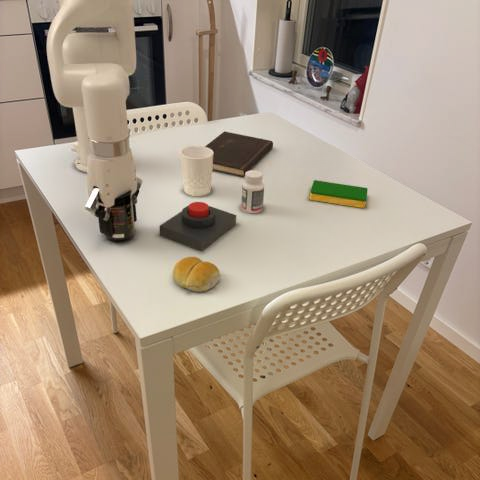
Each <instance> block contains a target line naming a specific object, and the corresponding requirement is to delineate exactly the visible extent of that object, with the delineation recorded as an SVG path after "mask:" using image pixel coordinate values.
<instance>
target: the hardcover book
mask: <svg viewBox="0 0 480 480" xmlns="http://www.w3.org/2000/svg"><path fill="white" fill-rule="evenodd" d="M204 147H207V148H209V149H211V150H212V151H213V169H212V172H218V173H222V174H226V175H231V176H235V177H240V178H244V177H245V173H246V172H247V171H250V170H252V169H253V168H254V167H255V166H256V165H257V164H258V163H259V162H260V161H261V160H262V158H264V157H265V155H267V154H268V153H269V152H270V151H271V150H272V149H273V147H274V142H273V141H272V140H270V139H264V138H259V137H255V136H249V135H245V134H240V133H235V132H231V131H222V132H221V133H220V134H219V135H218V136H216V137H215V138H214V139H212V141H210V142H209V143H207V144H206V145H204Z"/></svg>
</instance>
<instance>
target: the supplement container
mask: <svg viewBox="0 0 480 480" xmlns="http://www.w3.org/2000/svg"><path fill="white" fill-rule="evenodd" d="M101 202H102V201H101ZM102 203H103V202H102ZM114 204H115V205H113V206H111V211H110V216H109V218H110V219H111V220H112V226H113V236H111V237H110V236H107V235H105V234H103V236H104V237H105V239H107V241H109V242H112V243H126V242H128V241H131V240H132V239H133V238H134V237H135V235H136V226H135V222H134V214H133V203H132V190H130V191H128V192H126V193H125V194H123V195H121V196H119V197H117V198H115V200H114ZM104 210H105V207H103V206H102V212H103V213H104Z"/></svg>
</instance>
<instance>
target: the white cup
mask: <svg viewBox="0 0 480 480" xmlns="http://www.w3.org/2000/svg"><path fill="white" fill-rule="evenodd" d="M180 161H181V162H180V163H181V164H180V165H181V175H182V176H181V177H182V183H183V192H184V193H185V194H187V196H188V195H189V196H192V197H203V196H207V195H208V194H210V192H211V189H212V178H213V171H212V169H213V151H212V150H211V149H209V148H207V147H205V146H202V145H190V146H186V147H183V148H182V149H181V150H180Z"/></svg>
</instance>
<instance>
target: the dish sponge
mask: <svg viewBox="0 0 480 480" xmlns="http://www.w3.org/2000/svg"><path fill="white" fill-rule="evenodd" d="M367 198H368V187H365V186H364V187H363V186H357V185H351V184H344V183H343V184H342V183H337V182H336V183H335V182H329V181H323V180H317V179H314V180H313V181H312V185H311V188H310V193H309V200H310V201H315V202H321V203H322V202H323V203H329V204H334V205H342V206H349V207H354V208H361V209H365V208H366V204H367Z"/></svg>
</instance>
